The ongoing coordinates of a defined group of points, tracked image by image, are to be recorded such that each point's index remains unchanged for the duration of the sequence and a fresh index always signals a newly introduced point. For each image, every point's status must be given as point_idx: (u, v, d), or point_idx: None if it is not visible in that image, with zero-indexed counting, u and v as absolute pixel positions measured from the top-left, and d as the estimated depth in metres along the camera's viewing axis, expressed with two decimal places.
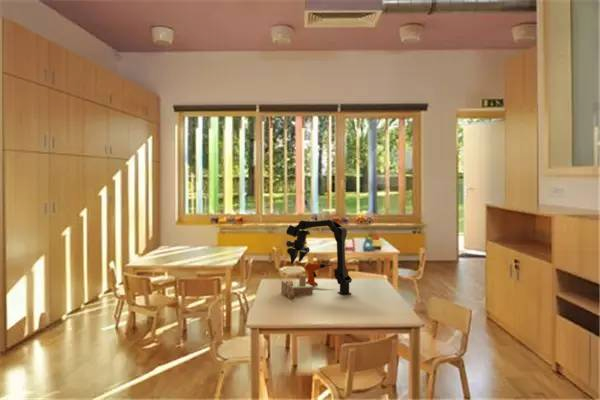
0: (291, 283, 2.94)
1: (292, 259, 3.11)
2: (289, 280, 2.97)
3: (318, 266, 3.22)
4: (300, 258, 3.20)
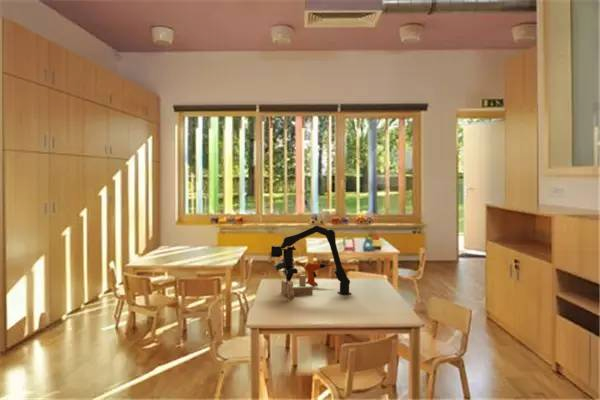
0: (291, 283, 2.93)
1: (289, 278, 2.97)
2: (289, 280, 2.97)
3: (318, 266, 3.22)
4: None
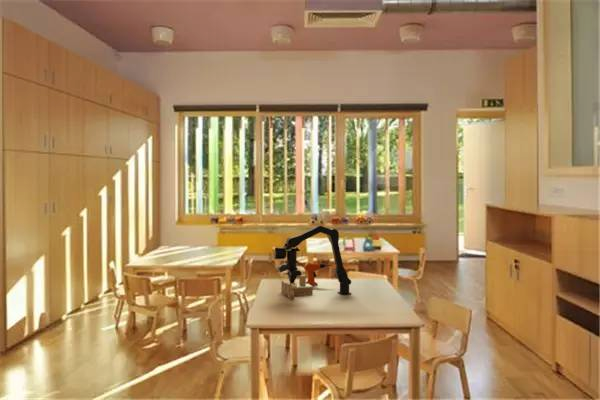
0: (295, 285, 2.87)
1: (292, 280, 2.91)
2: None
3: (318, 266, 3.22)
4: None
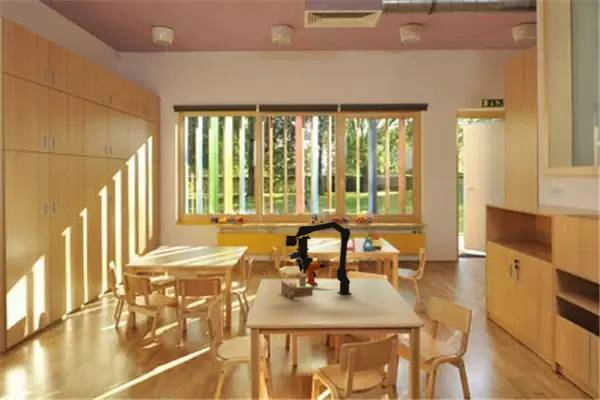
0: (295, 285, 2.87)
1: (305, 268, 2.95)
2: None
3: (318, 266, 3.22)
4: (301, 267, 3.02)
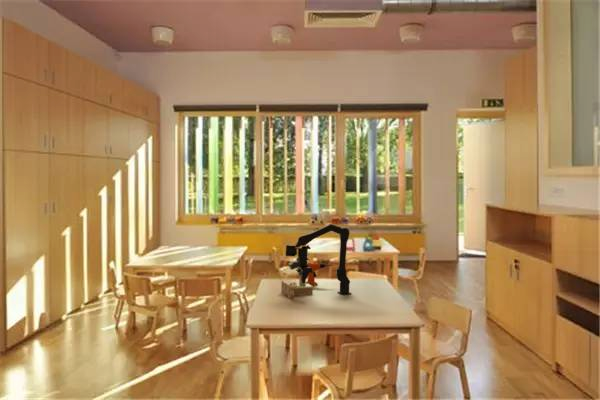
0: (295, 285, 2.87)
1: (304, 277, 2.96)
2: None
3: (318, 266, 3.22)
4: None
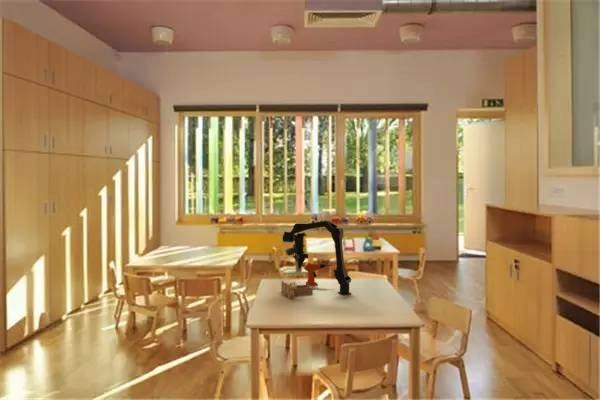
0: (295, 285, 2.87)
1: (300, 263, 3.09)
2: None
3: (318, 266, 3.22)
4: None
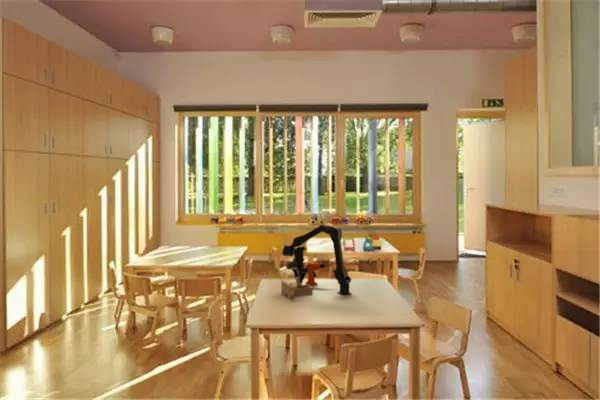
0: (295, 285, 2.87)
1: (302, 278, 3.07)
2: None
3: (318, 266, 3.22)
4: (297, 276, 3.16)
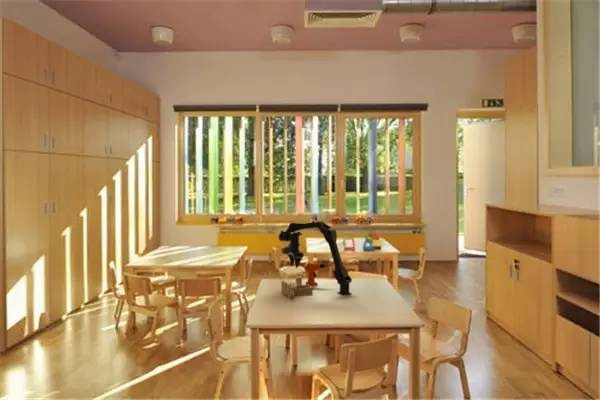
0: (295, 285, 2.87)
1: (297, 263, 3.12)
2: None
3: (318, 266, 3.22)
4: (292, 261, 3.21)
